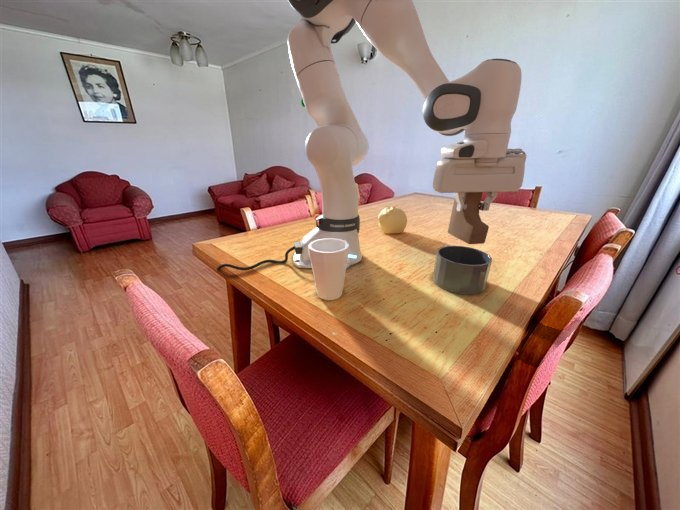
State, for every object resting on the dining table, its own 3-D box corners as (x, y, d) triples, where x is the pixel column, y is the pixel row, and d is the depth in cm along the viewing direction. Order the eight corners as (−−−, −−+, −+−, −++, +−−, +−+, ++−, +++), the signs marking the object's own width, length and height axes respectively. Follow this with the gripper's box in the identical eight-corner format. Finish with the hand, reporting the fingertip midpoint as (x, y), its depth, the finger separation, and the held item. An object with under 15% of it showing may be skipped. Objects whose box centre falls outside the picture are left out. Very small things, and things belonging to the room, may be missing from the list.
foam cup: (347, 283, 71) (347, 238, 66) (349, 303, 62) (350, 252, 57) (312, 284, 70) (309, 238, 65) (309, 304, 62) (306, 253, 57)
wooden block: (485, 244, 63) (506, 165, 56) (468, 244, 62) (488, 164, 55) (461, 232, 71) (477, 162, 64) (446, 233, 70) (461, 161, 63)
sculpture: (379, 226, 118) (380, 202, 113) (407, 229, 114) (409, 204, 110) (374, 234, 108) (375, 208, 103) (404, 237, 104) (407, 210, 100)
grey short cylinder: (496, 293, 66) (503, 264, 63) (446, 296, 65) (451, 266, 62) (461, 264, 81) (466, 240, 78) (420, 266, 80) (423, 242, 77)
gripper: (517, 148, 62) (503, 206, 67) (434, 148, 60) (426, 208, 65) (539, 148, 56) (521, 212, 62) (447, 149, 54) (437, 215, 60)
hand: (472, 210), depth 64 cm, fingers closed on wooden block, 4 cm apart
